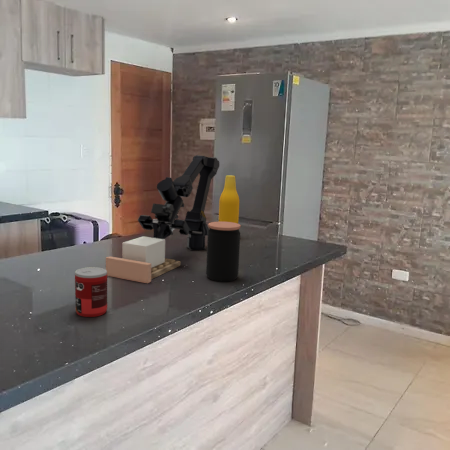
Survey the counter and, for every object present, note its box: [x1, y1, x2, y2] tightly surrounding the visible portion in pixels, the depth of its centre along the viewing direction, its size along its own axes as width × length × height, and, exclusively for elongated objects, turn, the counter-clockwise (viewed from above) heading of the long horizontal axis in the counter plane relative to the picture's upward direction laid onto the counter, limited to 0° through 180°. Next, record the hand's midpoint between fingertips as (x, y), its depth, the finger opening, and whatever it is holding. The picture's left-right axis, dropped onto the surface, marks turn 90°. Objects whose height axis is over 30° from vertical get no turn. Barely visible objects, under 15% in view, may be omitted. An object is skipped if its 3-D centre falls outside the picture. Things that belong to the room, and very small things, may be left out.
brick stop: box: [105, 256, 152, 284], centre depth 148 cm, size 2×16×6 cm, turn 66°
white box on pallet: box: [121, 235, 166, 268], centre depth 156 cm, size 12×9×8 cm
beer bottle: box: [218, 175, 240, 224], centre depth 211 cm, size 9×9×29 cm
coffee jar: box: [205, 221, 242, 283], centre depth 153 cm, size 11×11×18 cm
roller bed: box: [151, 257, 182, 280], centre depth 159 cm, size 21×14×2 cm, turn 156°
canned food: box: [74, 266, 108, 318], centre depth 119 cm, size 8×8×11 cm
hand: (154, 244), depth 161 cm, fingers closed, pressing on white box on pallet
